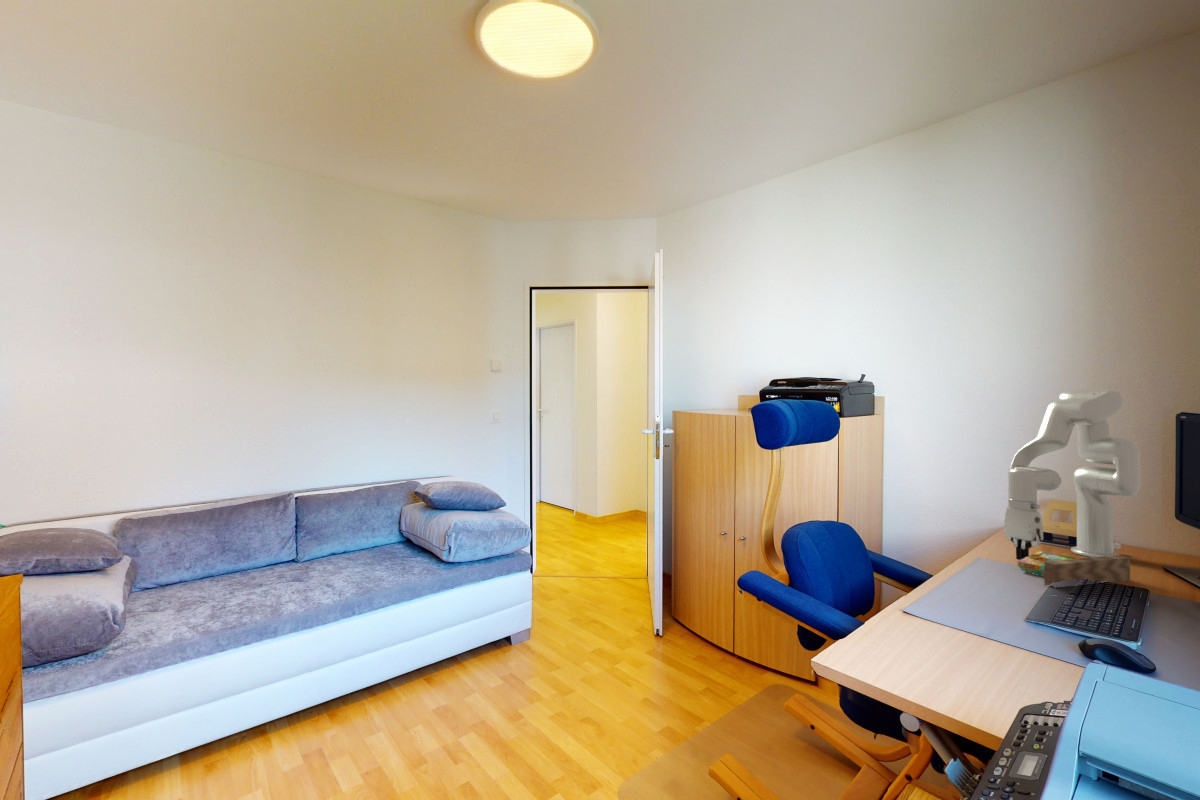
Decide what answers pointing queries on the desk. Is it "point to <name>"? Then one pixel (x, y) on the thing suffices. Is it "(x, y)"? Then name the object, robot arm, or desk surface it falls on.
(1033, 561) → the puzzle game
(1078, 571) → the rail
